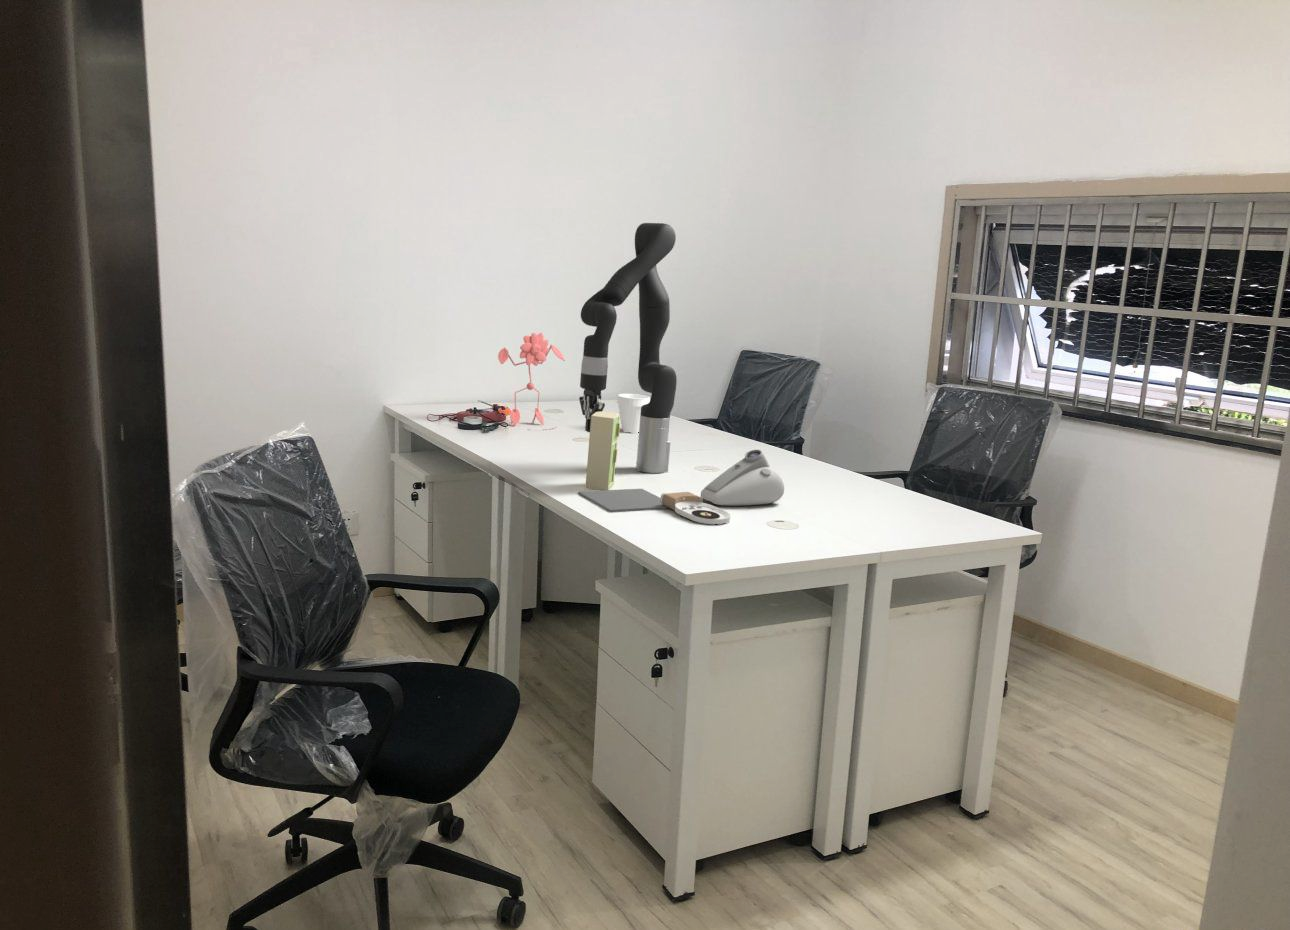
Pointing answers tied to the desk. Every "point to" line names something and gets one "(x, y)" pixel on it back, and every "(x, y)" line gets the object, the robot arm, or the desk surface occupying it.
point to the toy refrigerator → (602, 450)
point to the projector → (746, 483)
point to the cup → (631, 410)
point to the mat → (624, 500)
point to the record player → (694, 508)
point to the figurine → (533, 353)
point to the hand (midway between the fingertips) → (589, 431)
